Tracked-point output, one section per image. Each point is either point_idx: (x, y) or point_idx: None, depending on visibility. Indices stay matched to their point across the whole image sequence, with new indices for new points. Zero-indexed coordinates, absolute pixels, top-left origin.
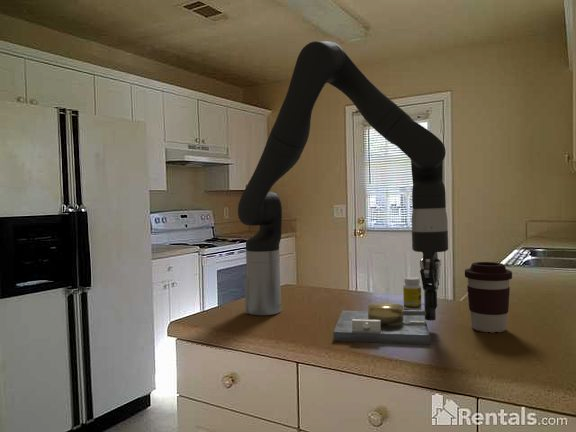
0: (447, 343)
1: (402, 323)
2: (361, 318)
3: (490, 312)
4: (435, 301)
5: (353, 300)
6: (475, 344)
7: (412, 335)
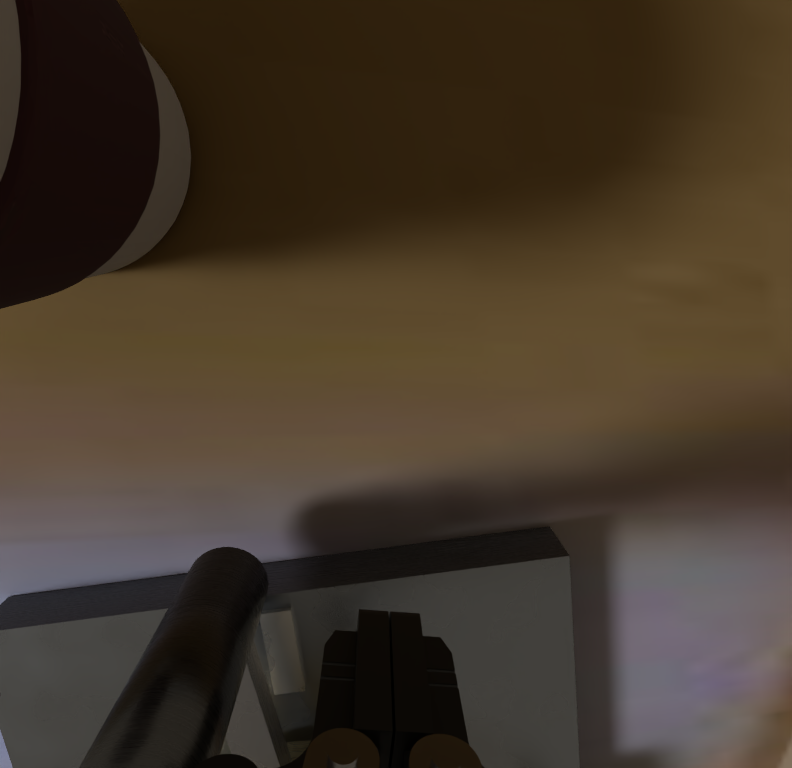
0: (500, 435)
1: None
2: None
3: (152, 107)
4: (426, 661)
5: None
6: (486, 271)
7: (572, 646)
